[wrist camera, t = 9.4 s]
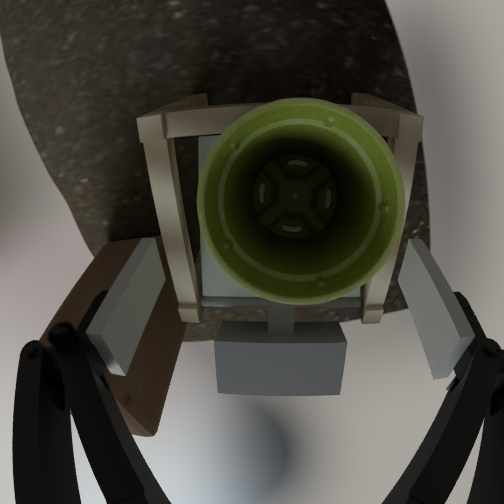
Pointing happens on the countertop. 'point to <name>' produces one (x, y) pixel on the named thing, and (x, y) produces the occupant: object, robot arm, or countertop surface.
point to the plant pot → (301, 201)
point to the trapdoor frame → (215, 122)
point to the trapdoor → (272, 332)
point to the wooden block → (151, 342)
